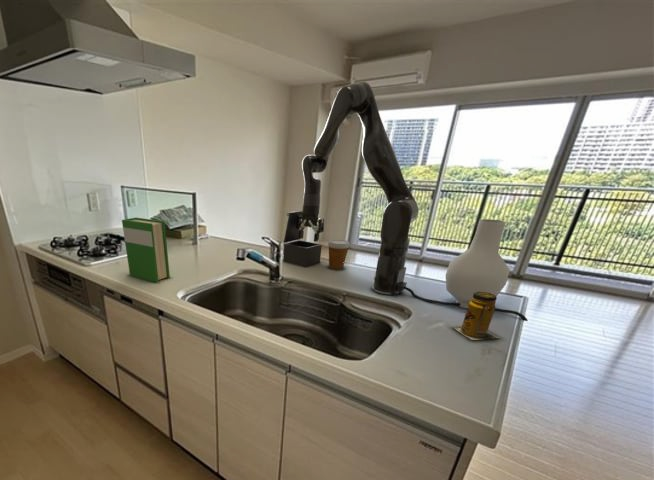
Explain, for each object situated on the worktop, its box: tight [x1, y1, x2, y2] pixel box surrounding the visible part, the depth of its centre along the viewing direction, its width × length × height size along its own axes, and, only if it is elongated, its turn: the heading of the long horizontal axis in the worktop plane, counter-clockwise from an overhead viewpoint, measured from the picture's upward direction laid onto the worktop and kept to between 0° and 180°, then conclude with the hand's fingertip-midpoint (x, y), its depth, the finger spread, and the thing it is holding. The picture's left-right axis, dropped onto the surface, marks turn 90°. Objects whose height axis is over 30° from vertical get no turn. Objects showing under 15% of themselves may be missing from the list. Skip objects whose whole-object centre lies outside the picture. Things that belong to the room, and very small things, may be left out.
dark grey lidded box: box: [282, 239, 323, 268], centre depth 163 cm, size 14×12×9 cm
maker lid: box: [283, 210, 303, 243], centre depth 163 cm, size 14×12×5 cm
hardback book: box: [121, 217, 171, 284], centre depth 143 cm, size 18×7×24 cm, turn 53°
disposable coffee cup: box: [327, 239, 351, 270], centre depth 153 cm, size 10×10×12 cm
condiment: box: [453, 292, 501, 341], centre depth 94 cm, size 7×8×12 cm
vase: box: [445, 218, 511, 309], centre depth 109 cm, size 17×16×28 cm
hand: (308, 239), depth 159 cm, fingers open, 8 cm apart
